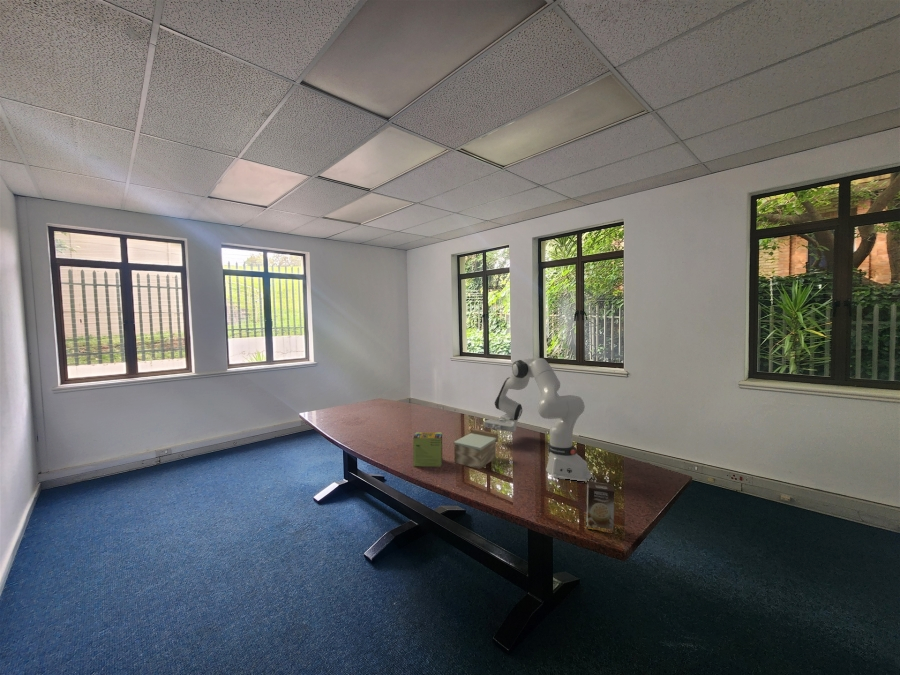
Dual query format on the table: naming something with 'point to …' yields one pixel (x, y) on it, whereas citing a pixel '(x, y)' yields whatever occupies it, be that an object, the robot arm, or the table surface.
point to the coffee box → (600, 505)
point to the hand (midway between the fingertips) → (493, 428)
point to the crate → (474, 455)
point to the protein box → (427, 449)
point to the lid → (477, 439)
